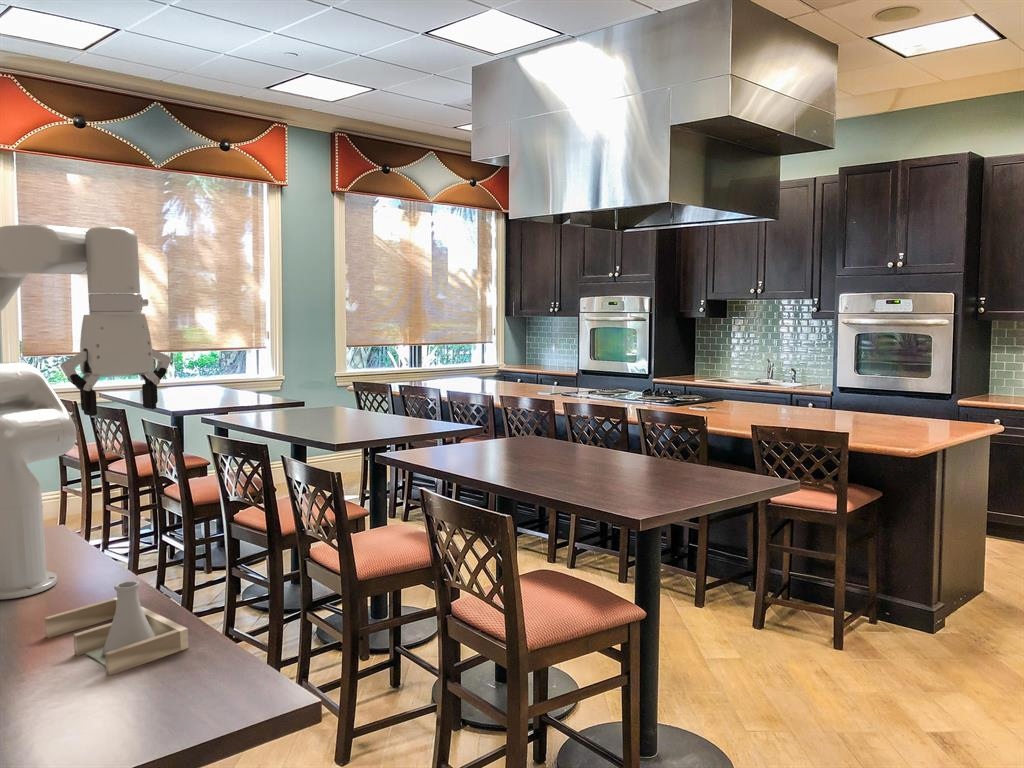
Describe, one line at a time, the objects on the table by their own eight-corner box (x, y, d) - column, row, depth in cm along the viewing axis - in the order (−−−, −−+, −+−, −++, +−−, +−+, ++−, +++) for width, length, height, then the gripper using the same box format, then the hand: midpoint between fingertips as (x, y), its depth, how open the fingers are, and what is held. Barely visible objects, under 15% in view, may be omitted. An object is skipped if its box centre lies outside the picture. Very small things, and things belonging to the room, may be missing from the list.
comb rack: (45, 636, 128) (44, 617, 127) (121, 613, 137) (120, 596, 136) (109, 675, 114) (108, 654, 114) (188, 647, 123) (187, 628, 123)
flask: (135, 663, 118) (131, 594, 117) (91, 657, 120) (87, 590, 119) (167, 642, 125) (164, 577, 124) (126, 637, 127) (122, 574, 126)
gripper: (155, 304, 142) (160, 404, 144) (47, 306, 129) (54, 415, 131) (178, 305, 137) (183, 407, 139) (69, 306, 124) (75, 420, 126)
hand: (120, 411), depth 135 cm, fingers open, 9 cm apart
